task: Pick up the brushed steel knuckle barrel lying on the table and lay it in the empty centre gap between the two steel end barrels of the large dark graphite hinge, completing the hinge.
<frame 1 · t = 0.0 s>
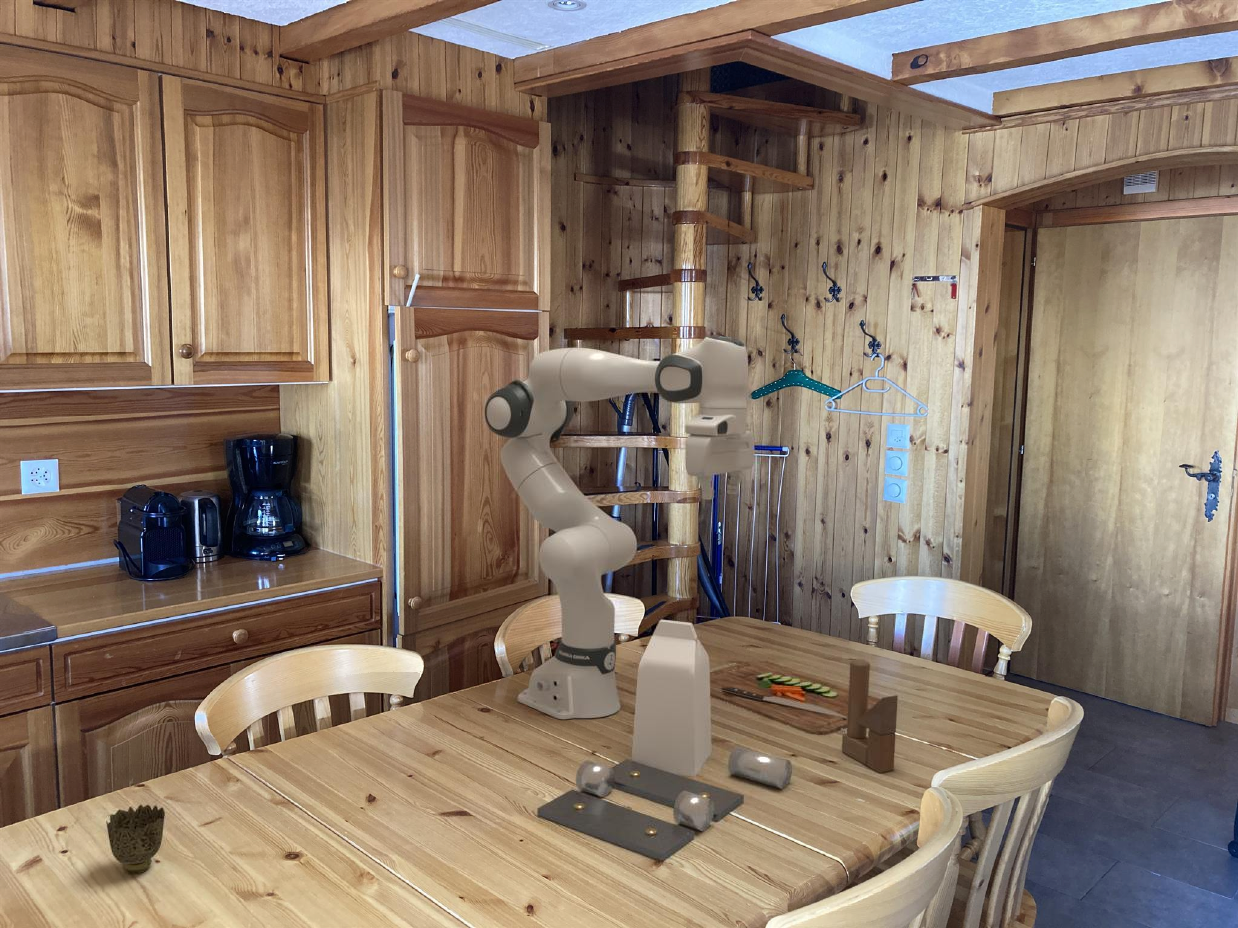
hand: (720, 496, 187), 48 cm above the table, tool pointing down, fingers open, 8 cm apart
hinge base: (642, 808, 163), on the table
wooden block: (867, 762, 184), on the table
chopping board: (785, 699, 219), on the table
knuckle: (759, 780, 175), on the table
cup: (137, 870, 141), on the table
milk: (671, 760, 183), on the table
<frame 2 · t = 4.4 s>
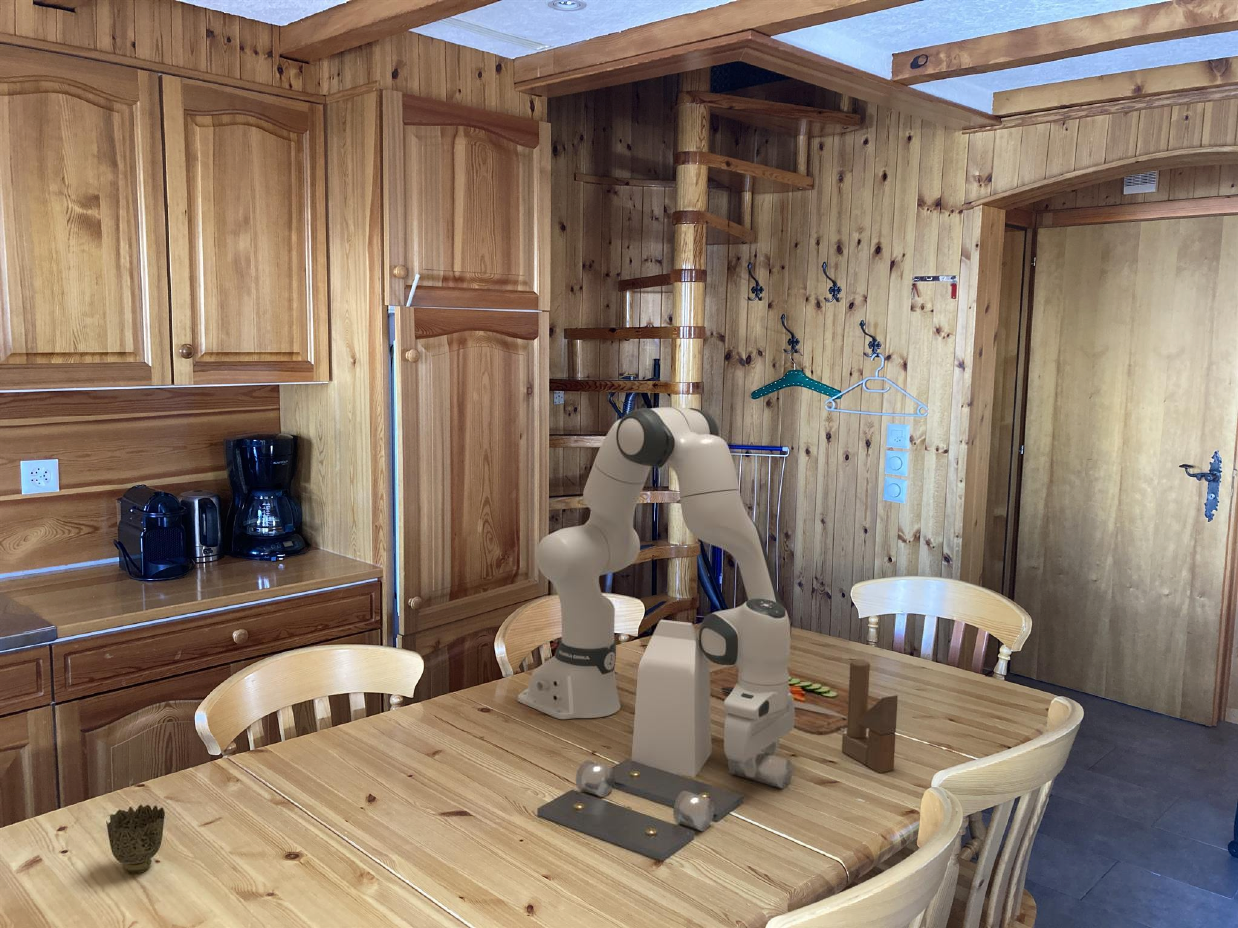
hand: (759, 769, 175), 2 cm above the table, tool pointing down, fingers closed on knuckle, 5 cm apart
knuckle: (759, 780, 175), on the table, touching gripper
everything else where it was.
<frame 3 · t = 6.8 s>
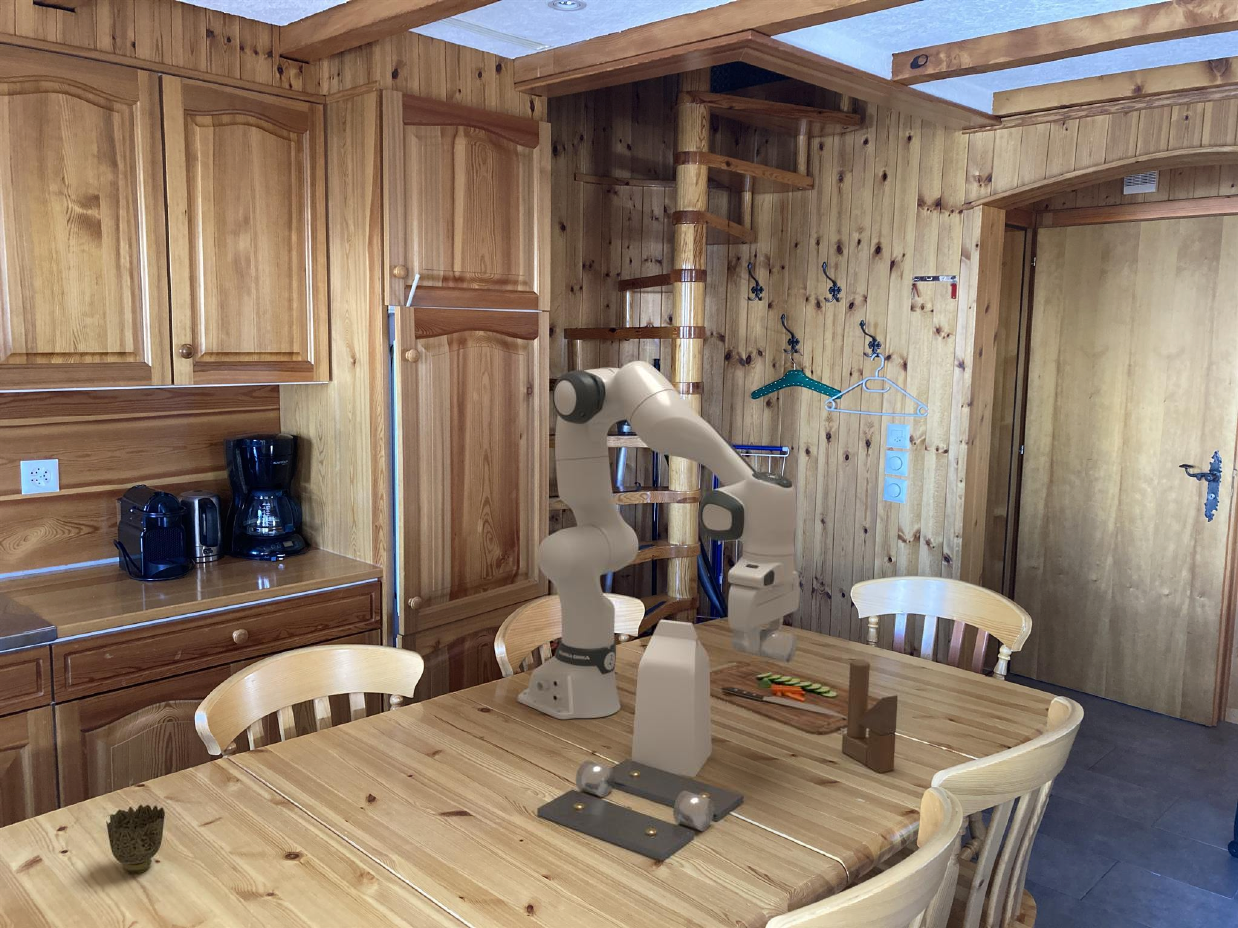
hand: (763, 645, 173), 24 cm above the table, tool pointing down, fingers closed on knuckle, 5 cm apart
knuckle: (763, 656, 173), point 22 cm above the table, touching gripper
everything else where it was.
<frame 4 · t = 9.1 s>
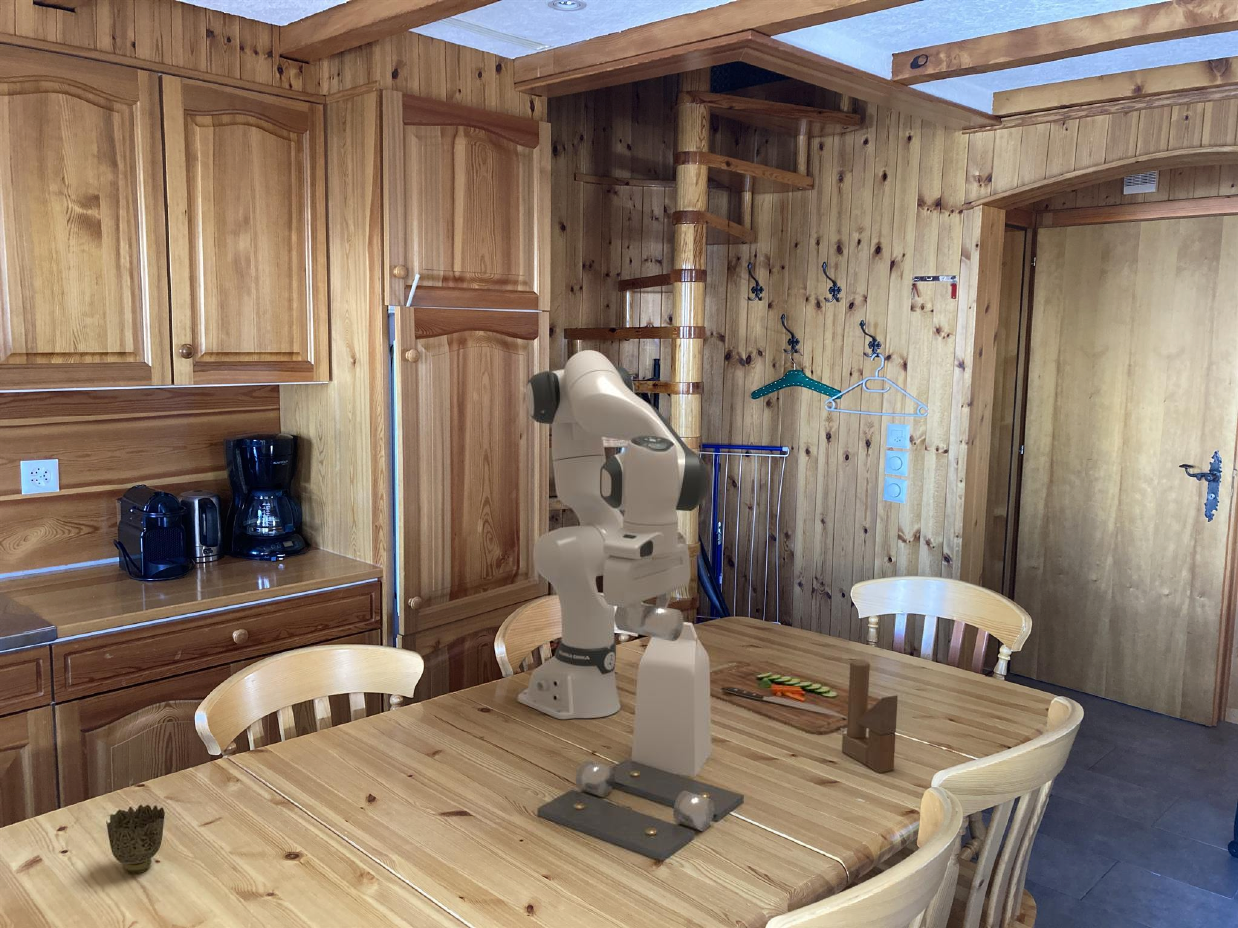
hand: (648, 623, 160), 31 cm above the table, tool pointing down, fingers closed on knuckle, 5 cm apart
knuckle: (648, 635, 160), point 29 cm above the table, touching gripper
everything else where it was.
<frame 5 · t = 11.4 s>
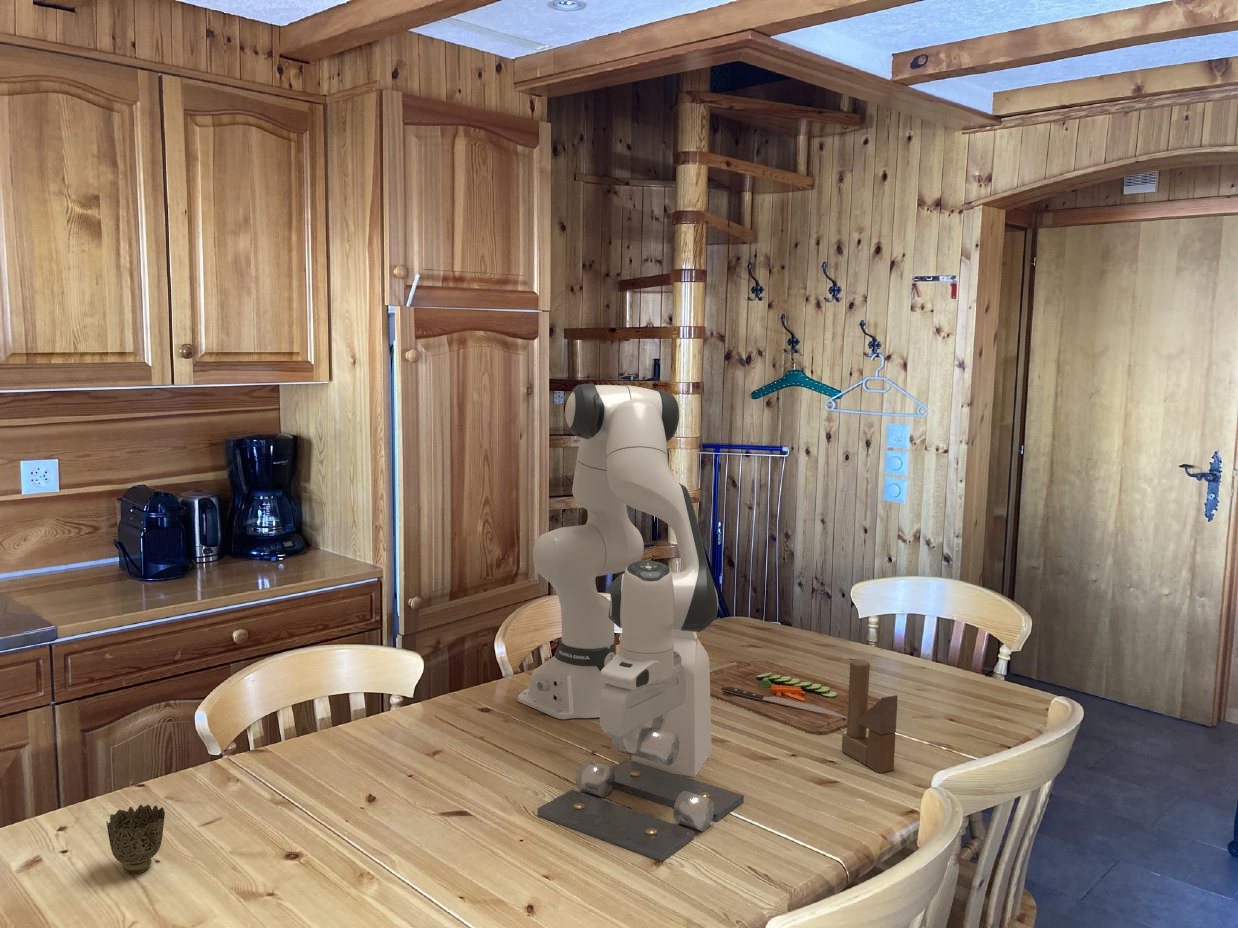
hand: (644, 745, 162), 11 cm above the table, tool pointing down, fingers closed on knuckle, 5 cm apart
knuckle: (644, 756, 162), point 9 cm above the table, touching gripper
everything else where it was.
when the fingers open (3 cm above the table, at t = 13.6 s): knuckle stays where it is, resting in hinge base.
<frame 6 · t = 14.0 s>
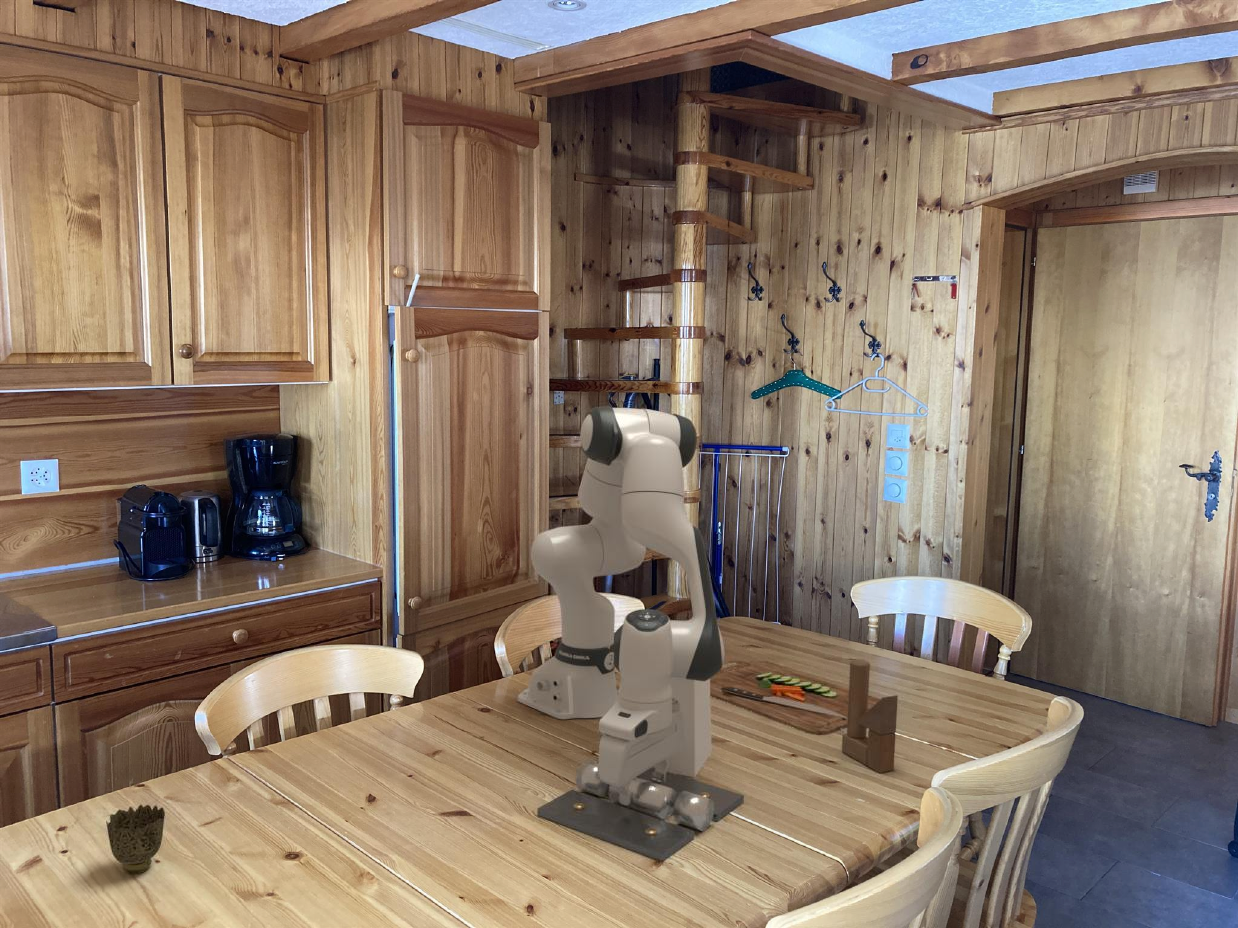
hand: (642, 792, 163), 3 cm above the table, tool pointing down, fingers open, 8 cm apart
knuckle: (643, 809, 163), resting in hinge base, tilted 8°
everything else where it was.
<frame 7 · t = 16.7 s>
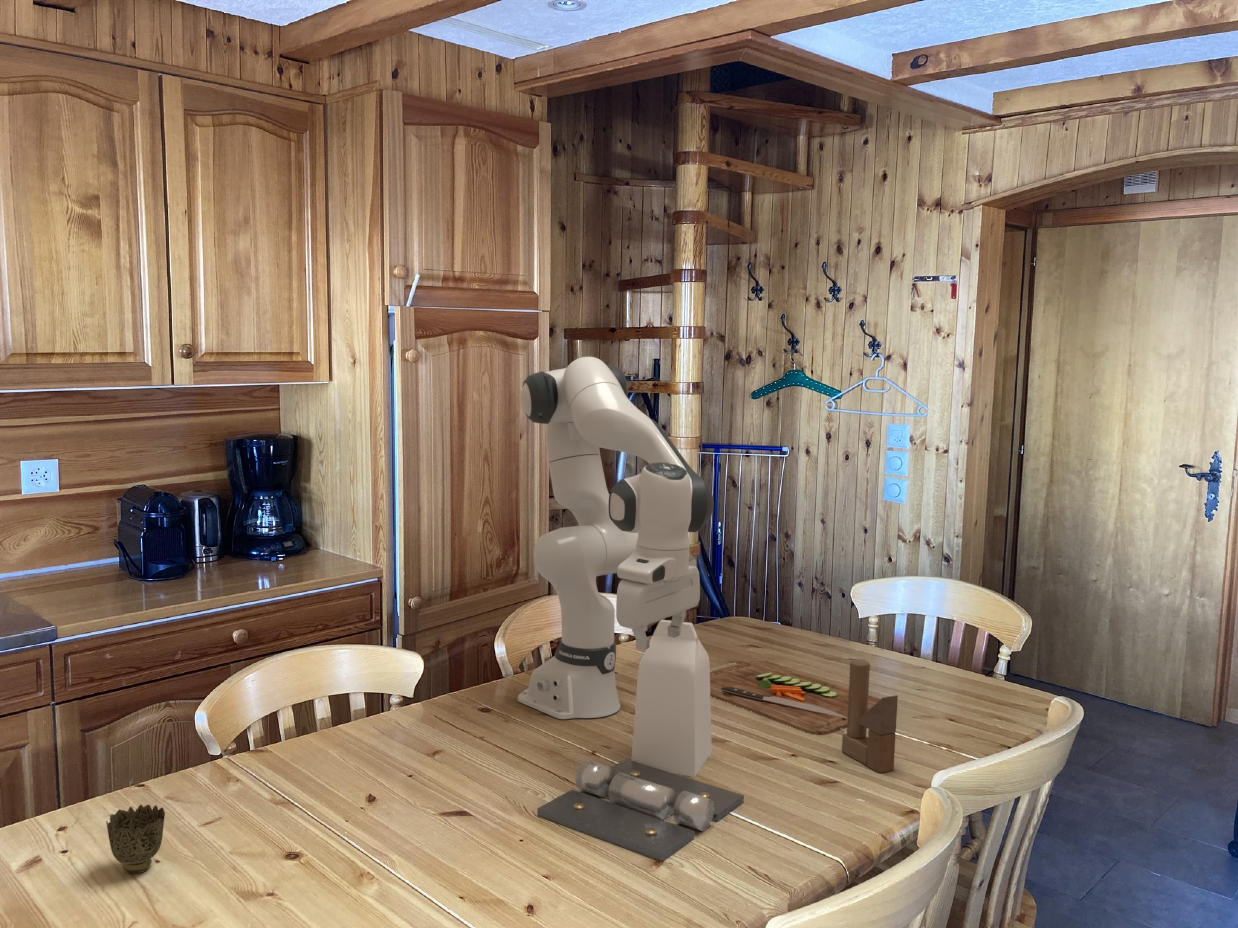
hand: (658, 642, 166), 26 cm above the table, tool pointing down, fingers open, 8 cm apart
nothing on the table moved.
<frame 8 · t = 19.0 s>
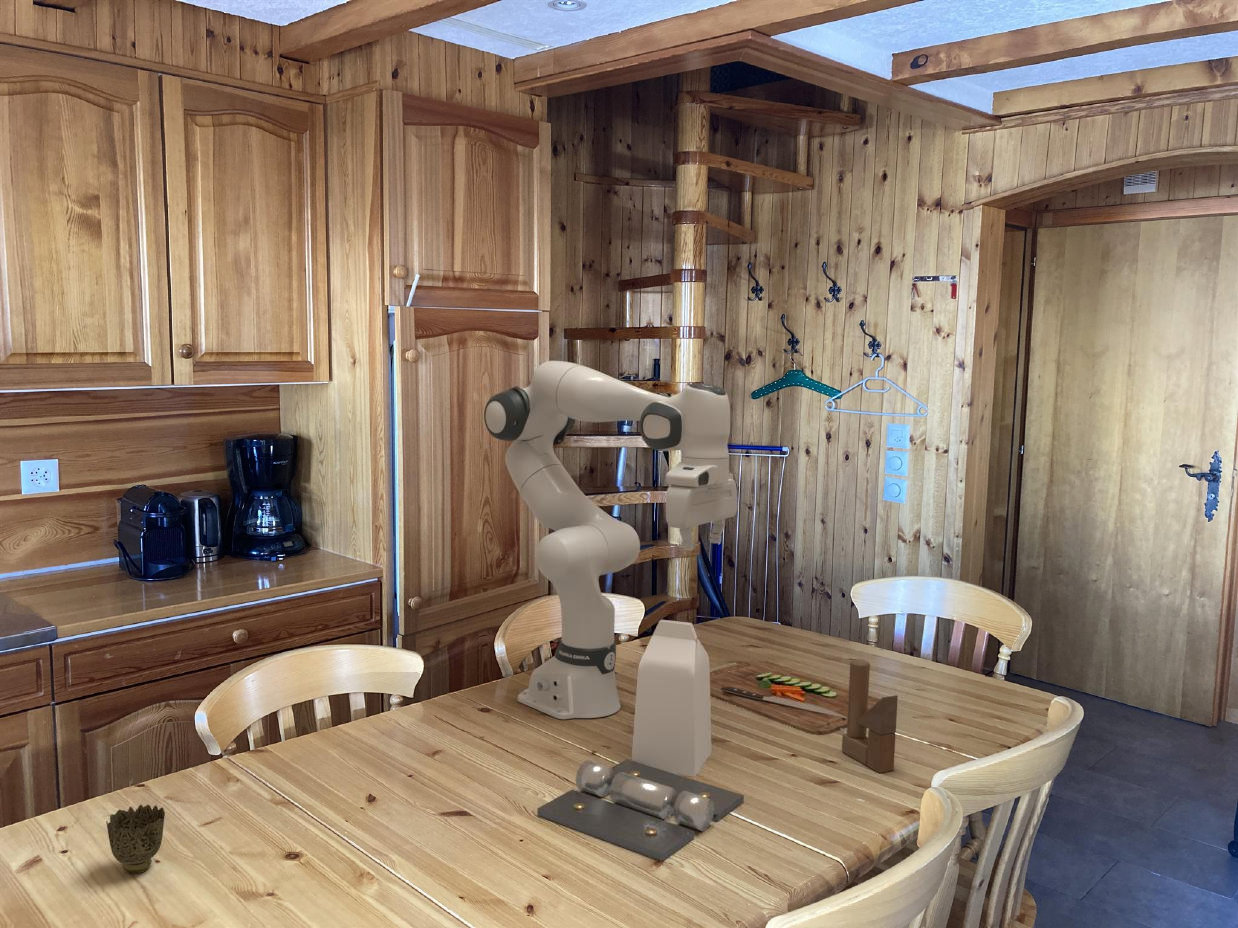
hand: (702, 546, 184), 39 cm above the table, tool pointing down, fingers open, 8 cm apart
knuckle: (643, 809, 163), resting in hinge base
everything else where it was.
at the end: knuckle 0.1 cm off-centre on the hinge base, point 0.0 cm above the hinge base's base; knuckle touching table; the gripper is holding nothing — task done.
